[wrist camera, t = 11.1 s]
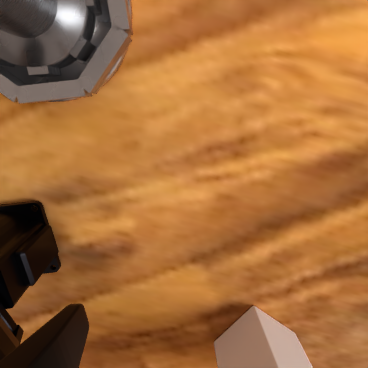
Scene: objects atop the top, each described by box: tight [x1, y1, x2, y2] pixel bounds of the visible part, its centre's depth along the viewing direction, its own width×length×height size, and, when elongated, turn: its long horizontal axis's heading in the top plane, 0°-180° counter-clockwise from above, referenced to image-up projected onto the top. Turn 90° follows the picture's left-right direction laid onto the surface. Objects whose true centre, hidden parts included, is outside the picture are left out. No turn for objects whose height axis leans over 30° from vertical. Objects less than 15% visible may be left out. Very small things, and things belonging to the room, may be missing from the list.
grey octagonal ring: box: [0, 0, 133, 103], centre depth 16 cm, size 11×11×2 cm
